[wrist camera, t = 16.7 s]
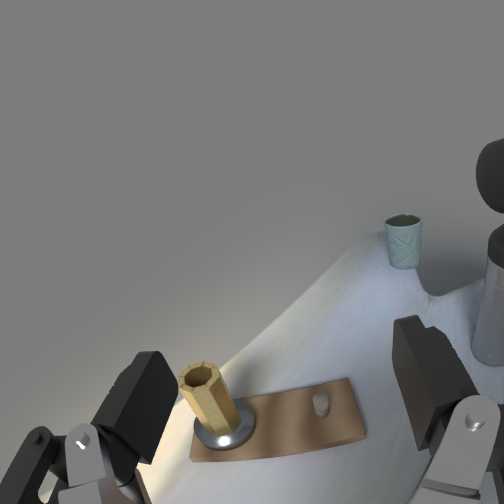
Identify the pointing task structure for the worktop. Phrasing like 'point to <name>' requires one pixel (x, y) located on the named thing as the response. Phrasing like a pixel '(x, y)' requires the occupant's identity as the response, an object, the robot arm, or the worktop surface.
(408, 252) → the pale green pot
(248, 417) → the disc
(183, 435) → the worktop surface
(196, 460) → the walnut board
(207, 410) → the brass sleeve
